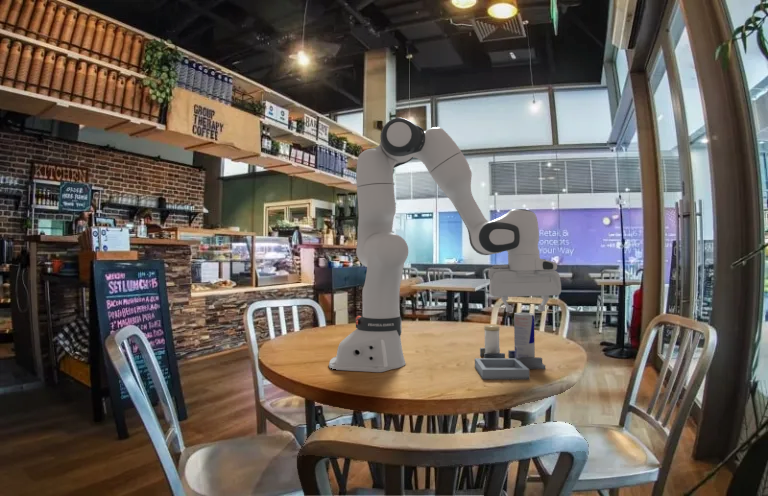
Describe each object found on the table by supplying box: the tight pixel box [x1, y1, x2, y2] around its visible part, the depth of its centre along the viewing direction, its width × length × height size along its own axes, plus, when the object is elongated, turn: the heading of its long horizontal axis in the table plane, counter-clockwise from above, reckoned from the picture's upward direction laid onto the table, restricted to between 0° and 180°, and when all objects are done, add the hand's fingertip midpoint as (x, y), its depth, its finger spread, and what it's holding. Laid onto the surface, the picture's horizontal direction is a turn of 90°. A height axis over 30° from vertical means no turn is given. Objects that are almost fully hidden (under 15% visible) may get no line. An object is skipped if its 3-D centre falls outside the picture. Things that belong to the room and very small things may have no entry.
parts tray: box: [474, 357, 531, 380], centre depth 117 cm, size 12×12×2 cm
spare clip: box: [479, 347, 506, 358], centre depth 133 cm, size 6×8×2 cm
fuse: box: [483, 324, 500, 353], centre depth 133 cm, size 5×5×10 cm
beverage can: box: [513, 312, 536, 358], centre depth 126 cm, size 6×6×15 cm
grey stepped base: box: [507, 349, 546, 370], centre depth 126 cm, size 8×10×3 cm
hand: (525, 311), depth 126 cm, fingers open, 8 cm apart
